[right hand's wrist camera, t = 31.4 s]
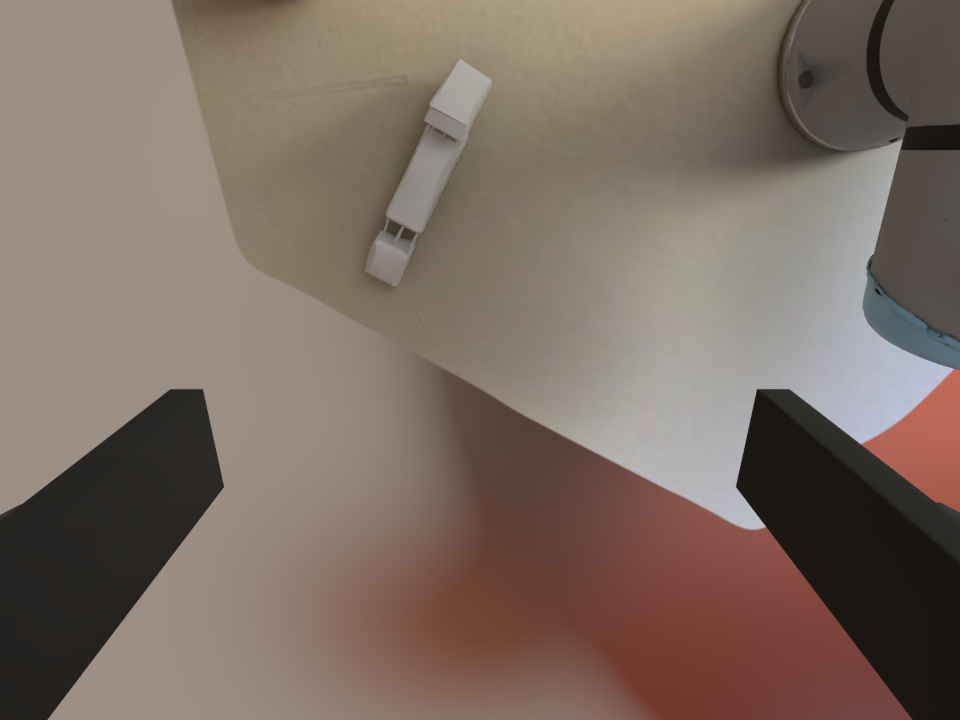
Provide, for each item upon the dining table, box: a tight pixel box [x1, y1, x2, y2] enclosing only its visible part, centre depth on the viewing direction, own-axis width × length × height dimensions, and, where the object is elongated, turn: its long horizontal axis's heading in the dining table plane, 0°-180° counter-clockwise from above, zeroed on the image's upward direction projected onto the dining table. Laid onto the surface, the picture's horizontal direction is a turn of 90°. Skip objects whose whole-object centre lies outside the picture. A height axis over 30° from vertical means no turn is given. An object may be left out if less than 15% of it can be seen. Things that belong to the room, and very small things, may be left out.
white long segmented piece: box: [364, 59, 492, 287], centre depth 46 cm, size 20×4×7 cm, turn 153°
